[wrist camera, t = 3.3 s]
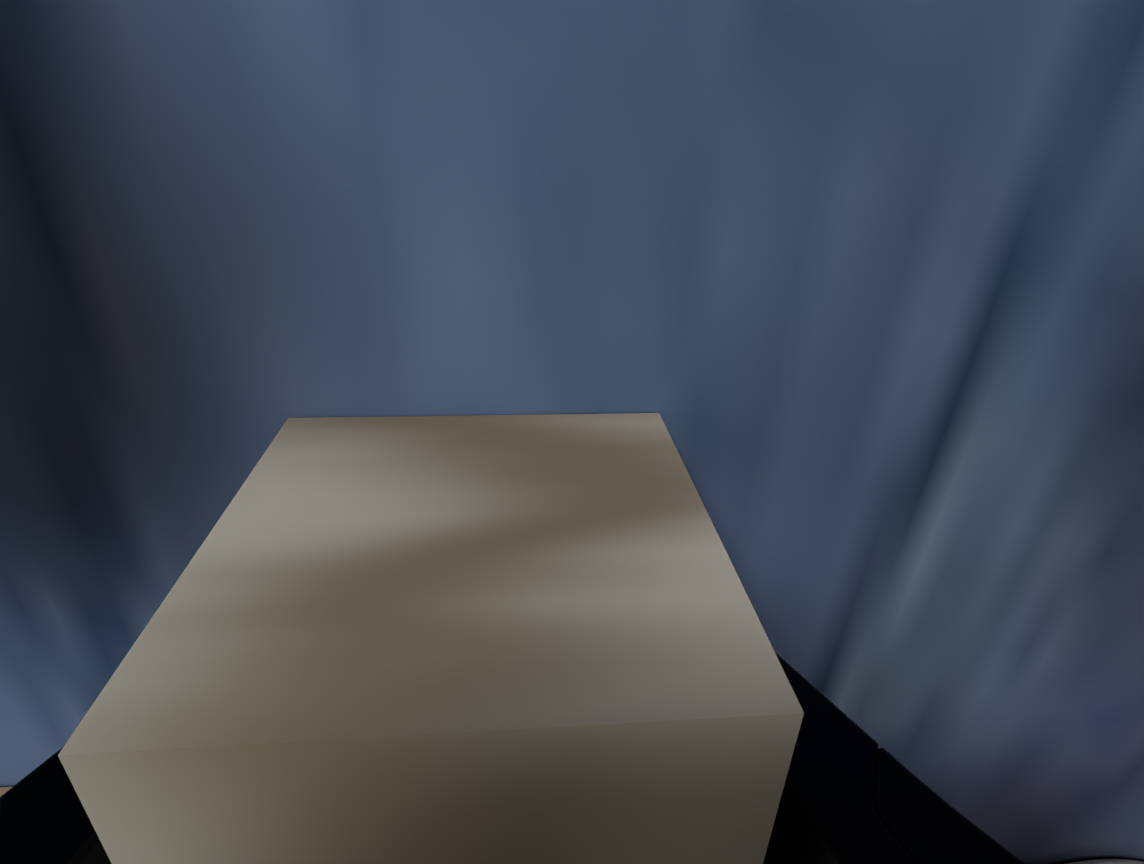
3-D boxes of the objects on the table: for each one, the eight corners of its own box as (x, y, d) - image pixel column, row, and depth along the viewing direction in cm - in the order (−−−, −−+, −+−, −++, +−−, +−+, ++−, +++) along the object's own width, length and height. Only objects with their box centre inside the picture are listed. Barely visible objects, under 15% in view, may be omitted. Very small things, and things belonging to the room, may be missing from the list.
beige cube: (659, 413, 9) (804, 713, 5) (633, 672, 11) (714, 1039, 7) (288, 417, 9) (56, 754, 4) (338, 687, 11) (223, 1091, 6)
